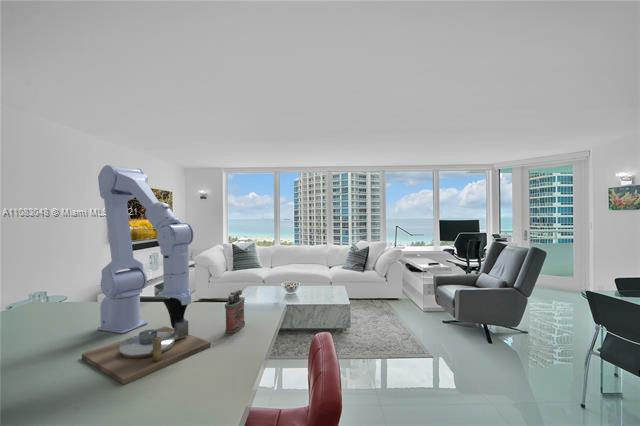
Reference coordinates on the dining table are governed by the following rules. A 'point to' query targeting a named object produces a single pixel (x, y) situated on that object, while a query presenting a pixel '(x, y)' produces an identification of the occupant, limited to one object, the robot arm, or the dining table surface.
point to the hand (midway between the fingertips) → (177, 327)
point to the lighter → (234, 313)
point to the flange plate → (146, 349)
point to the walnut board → (138, 367)
